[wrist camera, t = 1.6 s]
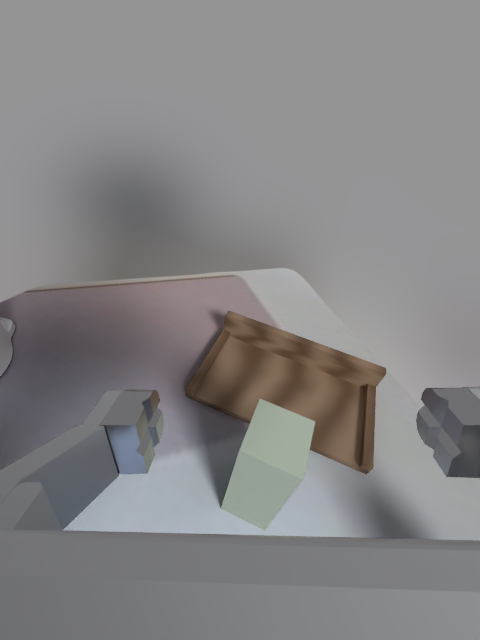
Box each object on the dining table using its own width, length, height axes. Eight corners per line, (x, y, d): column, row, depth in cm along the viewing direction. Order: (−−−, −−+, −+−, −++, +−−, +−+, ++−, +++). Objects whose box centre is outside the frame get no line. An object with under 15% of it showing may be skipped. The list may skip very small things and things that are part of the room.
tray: (185, 395, 41) (186, 373, 38) (225, 332, 51) (228, 310, 48) (366, 474, 37) (385, 456, 33) (370, 388, 47) (385, 368, 43)
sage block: (220, 508, 32) (239, 450, 22) (237, 464, 35) (259, 398, 26) (264, 530, 31) (303, 479, 21) (277, 482, 34) (315, 421, 25)
